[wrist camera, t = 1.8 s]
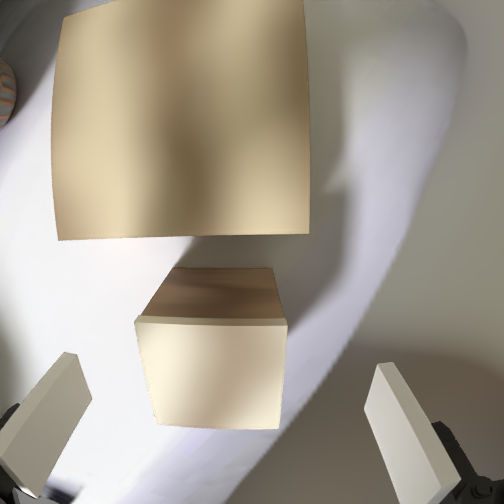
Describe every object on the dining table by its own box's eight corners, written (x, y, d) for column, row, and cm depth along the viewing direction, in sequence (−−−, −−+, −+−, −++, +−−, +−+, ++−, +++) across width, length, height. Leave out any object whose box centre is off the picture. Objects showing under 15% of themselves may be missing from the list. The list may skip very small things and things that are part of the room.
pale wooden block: (180, 350, 20) (157, 423, 13) (172, 266, 18) (134, 322, 11) (269, 352, 20) (278, 428, 13) (272, 267, 18) (287, 325, 12)
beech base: (99, 222, 18) (57, 241, 13) (100, 43, 14) (63, 17, 10) (293, 216, 18) (310, 234, 13) (289, 24, 14) (302, -16, 10)
